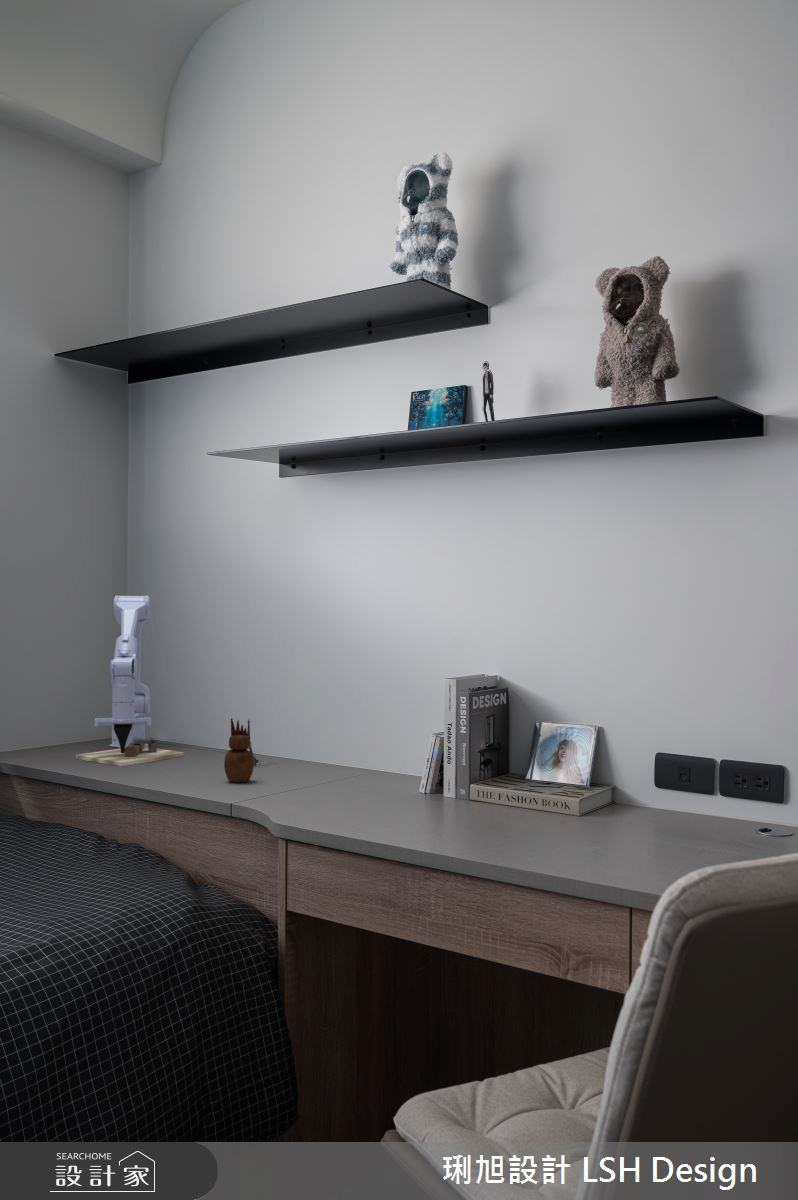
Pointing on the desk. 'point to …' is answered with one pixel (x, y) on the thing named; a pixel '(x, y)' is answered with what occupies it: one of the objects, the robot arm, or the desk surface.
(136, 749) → the wooden stick
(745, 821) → the desk surface
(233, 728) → the wooden figurine
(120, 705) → the robot arm
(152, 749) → the keeper
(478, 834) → the desk surface
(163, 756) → the base plate
